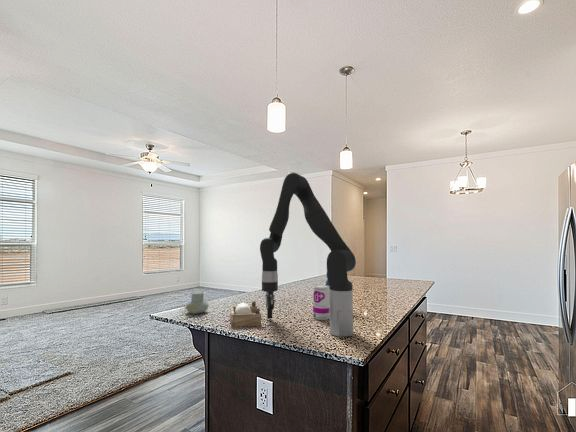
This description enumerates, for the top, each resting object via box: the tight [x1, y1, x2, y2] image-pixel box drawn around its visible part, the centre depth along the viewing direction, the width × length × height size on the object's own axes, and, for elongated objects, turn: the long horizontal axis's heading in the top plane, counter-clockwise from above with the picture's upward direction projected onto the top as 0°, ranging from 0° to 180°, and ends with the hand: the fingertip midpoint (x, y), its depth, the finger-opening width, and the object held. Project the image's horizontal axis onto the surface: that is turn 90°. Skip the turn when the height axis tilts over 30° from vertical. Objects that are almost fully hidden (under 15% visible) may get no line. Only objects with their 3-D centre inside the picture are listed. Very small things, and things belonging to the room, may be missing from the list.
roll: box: [235, 302, 252, 314], centre depth 144 cm, size 12×7×7 cm
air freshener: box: [185, 291, 209, 315], centre depth 161 cm, size 11×8×10 cm
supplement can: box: [312, 284, 330, 321], centre depth 150 cm, size 8×8×15 cm
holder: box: [229, 301, 262, 328], centre depth 144 cm, size 18×13×7 cm
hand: (269, 318), depth 145 cm, fingers closed
